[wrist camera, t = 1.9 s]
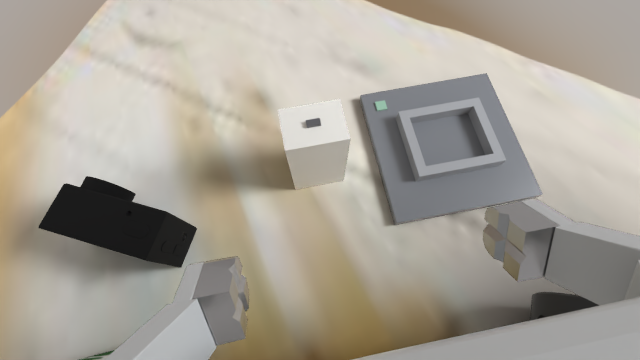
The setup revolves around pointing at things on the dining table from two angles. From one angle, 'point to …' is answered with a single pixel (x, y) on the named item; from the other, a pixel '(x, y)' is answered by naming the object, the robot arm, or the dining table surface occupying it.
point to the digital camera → (118, 222)
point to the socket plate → (446, 149)
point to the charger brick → (315, 142)
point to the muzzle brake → (557, 304)
